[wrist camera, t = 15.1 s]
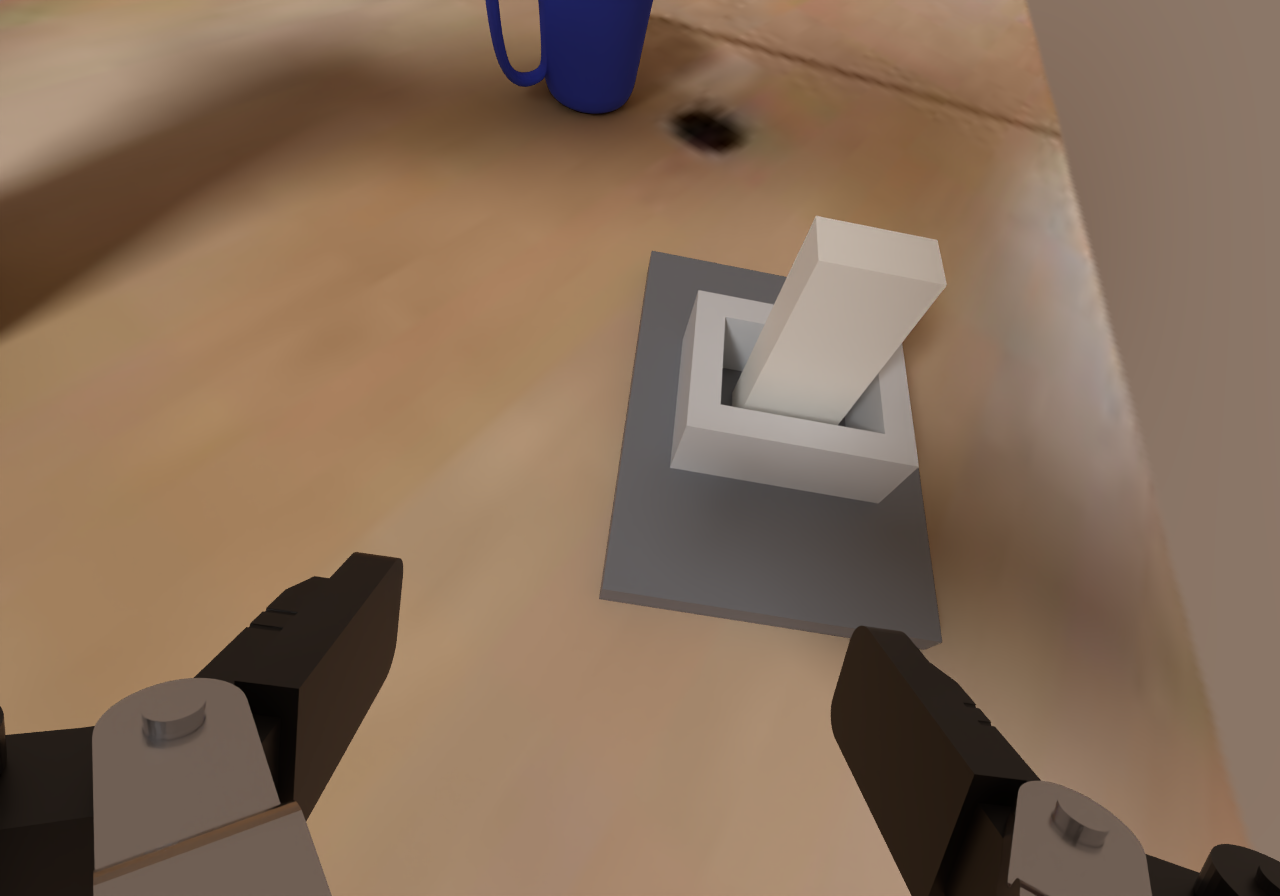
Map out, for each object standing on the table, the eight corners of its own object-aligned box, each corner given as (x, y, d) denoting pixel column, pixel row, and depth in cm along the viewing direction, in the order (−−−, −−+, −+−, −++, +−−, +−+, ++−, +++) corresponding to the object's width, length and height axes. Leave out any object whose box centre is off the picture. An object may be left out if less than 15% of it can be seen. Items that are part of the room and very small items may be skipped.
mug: (471, 79, 48) (458, -80, 40) (610, 57, 53) (625, -90, 44) (514, 144, 45) (510, -13, 37) (658, 116, 50) (684, -31, 41)
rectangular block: (732, 392, 35) (815, 215, 25) (819, 408, 35) (937, 239, 25) (731, 430, 34) (818, 260, 23) (821, 445, 34) (946, 285, 24)
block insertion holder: (648, 268, 41) (663, 197, 36) (884, 314, 42) (928, 250, 37) (599, 598, 30) (612, 557, 25) (925, 649, 31) (996, 619, 26)
